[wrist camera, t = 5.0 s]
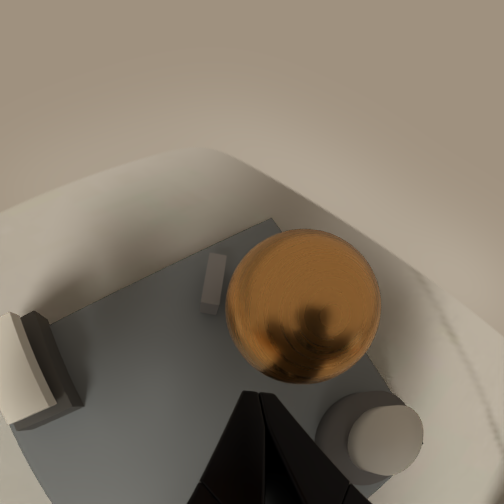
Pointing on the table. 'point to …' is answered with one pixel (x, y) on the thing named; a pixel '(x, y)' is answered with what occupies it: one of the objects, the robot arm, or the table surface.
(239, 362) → the switch panel
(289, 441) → the robot arm
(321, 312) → the toggle lever
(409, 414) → the push button
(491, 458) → the table surface
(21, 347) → the rocker switch
